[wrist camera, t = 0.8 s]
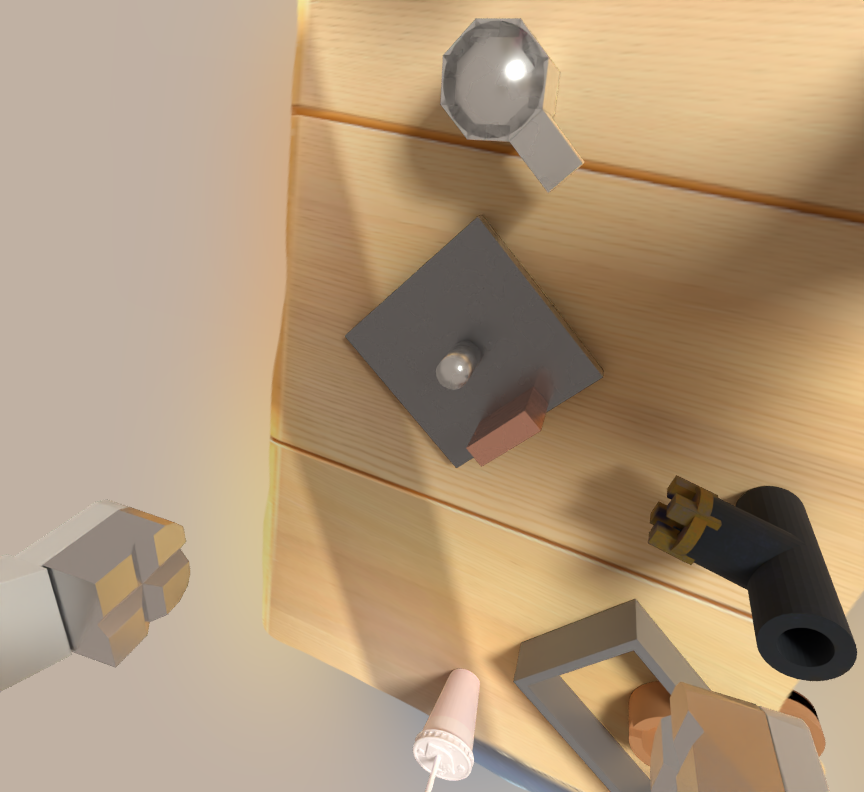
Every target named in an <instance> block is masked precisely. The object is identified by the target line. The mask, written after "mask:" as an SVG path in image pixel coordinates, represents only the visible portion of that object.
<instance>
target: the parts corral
mask: <svg viewBox="0 0 864 792" xmlns="http://www.w3.org/2000/svg"><path fill="white" fill-rule="evenodd" d="M633 650H634V651H635V653H636V654H637V655H638V656H639V657H640V659H641V660H642V661H643V662H644V663H645V665H646V666H647V667H648V668H649V669H650V671H651V672H652V673H653V674H654V675H655V677H656V678H657V679H658V680H659V681H660V682H661V684H662V685H663V686H664V687H665V688H666V690H667V691H668V692H669V693H670V694H672V692H673V690H674V688H675V686H676V685H677V684H678V683H679V682H684V683H687V684H690V685H694V686H697V687H700V688H704V689H707V690H710V689H709V687H708V686H707V685H706V684H705V683H704V681H703V680H702V679H701V678H700V677H699V675H698V674H697V673H696V672H695V670H694V669H693V668H692V667H691V666H690V664H689V663H688V662H687V661H686V660H685V658H684V657H683V656H682V655H681V653H680V652H679V651H678V650H677V649H676V647H675V646H674V645H673V644H672V643H671V641H670V640H669V639H668V638H667V637H666V635H665V634H664V633H663V632H662V630H661V629H660V628H659V627H658V626H657V624H656V623H655V622H654V621H653V620H652V618H651V617H650V616H649V615H648V613H647V612H646V611H645V610H644V609H643V607H642V606H641V605H640V604H639V603H638V601H637V600H636V599H634V600H631V601H629V602H626V603H624V604H621V605H618V606H616V607H613V608H611V609H608V610H605V611H603V612H600V613H598V614H595V615H592V616H590V617H587V618H585V619H582V620H579V621H577V622H574V623H572V624H569V625H566V626H564V627H561V628H559V629H556V630H553V631H551V632H548V633H546V634H543V635H540V636H538V637H535V638H533V639H530V640H527V641H525V642H522V643H521V646H520V651H519V656H518V661H517V666H516V671H515V676H514V681H513V682H514V683H515V684H516V685H517V686H518V687H519V689H520V690H521V691H522V692H523V693H524V694H525V695H526V697H527V698H528V699H529V700H530V701H531V702H532V703H533V704H534V706H535V707H536V708H537V709H538V710H539V711H540V712H541V713H542V715H543V716H544V717H545V718H546V719H547V720H548V721H549V722H550V724H551V725H552V726H553V727H554V728H555V729H556V730H557V732H558V733H559V734H560V735H561V736H562V737H563V738H564V739H565V741H566V742H567V743H568V744H569V745H570V746H571V747H572V748H573V750H574V751H575V752H576V753H577V754H578V755H579V756H580V757H581V759H582V760H583V761H584V762H585V763H586V764H587V765H588V767H589V768H590V769H591V770H592V771H593V772H594V773H595V774H596V776H597V777H598V778H599V779H600V780H601V781H602V782H603V783H604V785H605V786H606V787H607V788H608V789H609V790H610V791H611V792H651V783H650V779H649V778H648V777H647V776H646V775H645V774H644V772H643V771H642V770H641V769H640V768H639V767H638V766H637V764H636V763H635V762H634V761H633V760H632V759H631V757H630V756H629V755H628V754H627V753H626V752H625V751H624V749H623V748H622V747H621V746H620V745H619V744H618V743H617V741H616V740H615V739H614V738H613V737H612V736H611V734H610V733H609V732H608V731H607V730H606V729H605V728H604V726H603V725H602V724H601V723H600V722H599V721H598V719H597V718H596V717H595V716H594V715H593V714H592V713H591V711H590V710H589V709H588V708H587V707H586V706H585V705H584V703H583V702H582V701H581V700H580V699H579V698H578V696H577V695H576V694H575V693H574V692H573V691H572V690H571V688H570V687H569V686H568V685H567V684H566V683H565V682H564V680H563V679H562V678H561V677H560V676H559V675H562V674H565V673H568V672H571V671H574V670H576V669H579V668H582V667H585V666H588V665H591V664H594V663H597V662H600V661H603V660H606V659H609V658H612V657H615V656H618V655H621V654H624V653H627V652H630V651H633ZM710 691H711V690H710Z"/></svg>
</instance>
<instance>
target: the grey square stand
mask: <svg viewBox="0 0 864 792" xmlns="http://www.w3.org/2000/svg"><path fill="white" fill-rule="evenodd" d="M345 337H346V338H347V339H348V341H349V342H350V343H351V344H352V345H353V347H354V348H355V349H356V350H357V351H358V352H359V354H360V355H361V356H362V357H363V358H364V360H365V361H366V362H367V363H368V364H369V365H370V367H371V368H372V369H373V370H374V371H375V373H376V374H377V375H378V376H379V377H380V378H381V380H382V381H383V382H384V383H385V384H386V386H387V387H388V388H389V389H390V390H391V391H392V393H393V394H394V395H395V396H396V397H397V399H398V400H399V401H400V402H401V403H402V404H403V406H404V407H405V408H406V409H407V410H408V412H409V413H410V414H411V415H412V416H413V417H414V419H415V420H416V421H417V422H418V423H419V425H420V426H421V427H422V428H423V429H424V430H425V432H426V433H427V434H428V435H429V436H430V438H431V439H432V440H433V441H434V442H435V443H436V445H437V446H438V447H439V448H440V449H441V451H442V452H443V453H444V454H445V455H446V456H447V458H448V459H449V460H450V461H451V462H452V464H453V465H454V466H455V467H456V468H458V467H459V466H461V465H462V464H464V463H466V462H467V461H469V460H470V459H472V458H475V459H476V461H477V462H478V463H479V464H480V465H481V467H482V466H484V465H485V464H487V463H488V462H490V461H492V460H493V459H495V458H497V457H498V456H500V455H502V454H503V453H505V452H507V451H508V450H510V449H512V448H513V447H515V446H517V445H518V444H520V443H522V442H523V441H525V440H527V439H528V438H530V437H531V436H533V435H535V434H536V433H538V432H540V431H541V429H542V425H543V422H544V418H545V415H546V412H548V411H549V410H551V409H553V408H554V407H556V406H557V405H559V404H561V403H562V402H564V401H565V400H567V399H569V398H570V397H572V396H573V395H575V394H577V393H578V392H580V391H582V390H583V389H585V388H586V387H588V386H590V385H591V384H593V383H594V382H596V381H598V380H599V379H601V378H602V377H603V369H602V368H601V367H600V365H599V364H598V363H597V362H596V360H595V359H594V358H593V356H592V355H591V354H590V353H589V351H588V350H587V349H586V347H585V346H584V345H583V344H582V342H581V341H580V340H579V338H578V337H577V336H576V335H575V333H574V332H573V331H572V330H571V328H570V327H569V326H568V324H567V323H566V322H565V321H564V319H563V318H562V317H561V315H560V314H559V313H558V312H557V310H556V309H555V308H554V306H553V305H552V304H551V303H550V301H549V300H548V299H547V297H546V296H545V295H544V294H543V292H542V291H541V290H540V288H539V287H538V286H537V285H536V283H535V282H534V281H533V279H532V278H531V277H530V276H529V274H528V273H527V272H526V270H525V269H524V268H523V267H522V265H521V264H520V263H519V261H518V260H517V259H516V258H515V256H514V255H513V254H512V252H511V251H510V250H509V249H508V247H507V246H506V245H505V243H504V242H503V241H502V240H501V238H500V237H499V236H498V234H497V233H496V232H495V231H494V229H493V228H492V227H491V225H490V224H489V223H488V222H487V220H486V219H485V218H484V217H483V215H480V216H478V217H477V218H476V219H475V220H474V221H472V222H471V223H470V224H469V225H468V226H467V227H466V228H465V229H463V230H462V231H461V232H460V233H459V234H458V235H457V236H456V237H455V238H453V239H452V240H451V241H450V242H449V243H448V244H447V245H446V246H445V247H443V248H442V249H441V250H440V251H439V252H438V253H437V254H436V255H434V256H433V257H432V258H431V259H430V260H429V261H428V262H427V263H426V264H424V265H423V266H422V267H421V268H420V269H419V270H418V271H417V272H415V273H414V274H413V275H412V276H411V277H410V278H409V279H408V280H407V281H405V282H404V283H403V284H402V285H401V286H400V287H399V288H398V289H397V290H395V291H394V292H393V293H392V294H391V295H390V296H389V297H388V298H386V299H385V300H384V301H383V302H382V303H381V304H380V305H379V306H378V307H376V308H375V309H374V310H373V311H372V312H371V313H370V314H369V315H367V316H366V317H365V318H364V319H363V320H362V321H361V322H360V323H359V324H357V325H356V326H355V327H354V328H353V329H352V330H351V331H350V332H349V333H347V334H346V335H345Z"/></svg>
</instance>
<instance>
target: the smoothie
mask: <svg viewBox="0 0 864 792" xmlns="http://www.w3.org/2000/svg"><path fill="white" fill-rule="evenodd" d="M479 689H480V681H479V679H478V678H477V676H476V675H475V674H473V673H472V672H470V671H468V670H465V669H455V670H453V671H452V672H451V673H450V675H449V677H448V679H447V681H446V683H445V685H444V687H443V690H442V692H441V694H440V696H439V698H438V700H437V702H436V704H435V706H434V708H433V710H432V712H431V714H430V716H429V718H428V720H427V722H426V724H425V726H424V729H423V731H422V732H420V733H419V734H418V735H417V737H416V738H415V743H414V746H413V754H414V756H415V758H416V760H417V762H418V763H419V764H420V765H421V767H422V768H424V769H425V770H426V771H427V772H429V773H430V777H429V780H428V783H427V787H426V790H425V792H431V790H432V786H433V783H434V780H435V776H436V777H439V778H441V779H446V780H452V781H455V780H456V781H457V780H462V779H464V778H466V777H467V776H468V775H469V774H470V772H471V769H472V765H473V763H474V757H473V753H472V748H473V739H474V731H475V722H476V714H477V706H478V697H479Z"/></svg>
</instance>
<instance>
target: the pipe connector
mask: <svg viewBox="0 0 864 792" xmlns="http://www.w3.org/2000/svg"><path fill="white" fill-rule="evenodd" d="M667 498H669V499H671V501H670V503H669V504H668V506H667V505H665V504H663V503H661V502H658V503H657V505H656V506H655V508H654V509H653V511H652V512H651V515H650V523H651V524H653V525H654V526H653V528H652V529H651V531H650V532H649V540H648V543H649V544H651V545H653V546H655V547H657V548H659V549H661V550H662V551H664V552H666V553H668V554H670V555H672V556H674V557H676V558H678V559H680V560H682V561H684V562H686V563H688V564H690V565H692V563H693V562H694V563H696V564H698V565H700V566H702V567H704V568H706V569H708V570H710V571H712V572H714V573H716V574H718V575H720V576H722V577H723V578H725V579H727V580H729V581H731V582H733V583H735V584H737V585H739V586H741V587H743V588H745V589H747V590H748V594H749V600H750V606H751V612H752V618H753V624H754V630H755V636H756V642H757V647H758V650H759V652H760V654H761V656H762V657H763V659H764V660H765V661H766V662H767V663H768V664H769V665H770V666H771V667H772V668H774V669H776V670H777V671H779V672H780V673H783V674H785V675H787V676H790V677H793V678H796V679H801V680H807V681H824V680H829V679H833V678H836V677H839V676H841V675H843V674H844V673H846V672H847V671H849V670H850V668H851V667H852V666H853V665H854V663H855V660H856V656H857V649H856V644H855V642H854V639H853V636H852V634H851V631H850V628H849V625H848V623H847V620H846V617H845V615H844V612H843V609H842V607H841V604H840V601H839V599H838V596H837V593H836V591H835V588H834V585H833V583H832V580H831V577H830V575H829V572H828V569H827V567H826V564H825V561H824V558H823V556H822V553H821V550H820V548H819V545H818V542H817V540H816V537H815V534H814V532H813V529H812V526H811V524H810V521H809V518H808V516H807V513H806V510H805V508H804V505H803V503H802V502H801V500H800V499H799V498H798V497H797V496H796V495H794V494H793V493H791V492H790V491H788V490H785V489H783V488H779V487H773V486H764V487H758V488H754V489H752V490H750V491H748V492H746V493H745V494H743V495H742V496H741V498H740V499H739V500H738V502H737V504H736V507H735V506H733V505H731V504H729V503H727V502H725V501H723V500H721V499H719V498H718V495H716V494H714V493H712V492H710V491H708V490H706V489H704V488H702V487H699V486H697V485H695V484H693V483H691V482H689V481H687V480H685V479H683V478H681V477H679V476H677V475H676V477H675V478H674V479H673V481H672V482H671V484H670V485H669V487H668V488H667Z"/></svg>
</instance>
